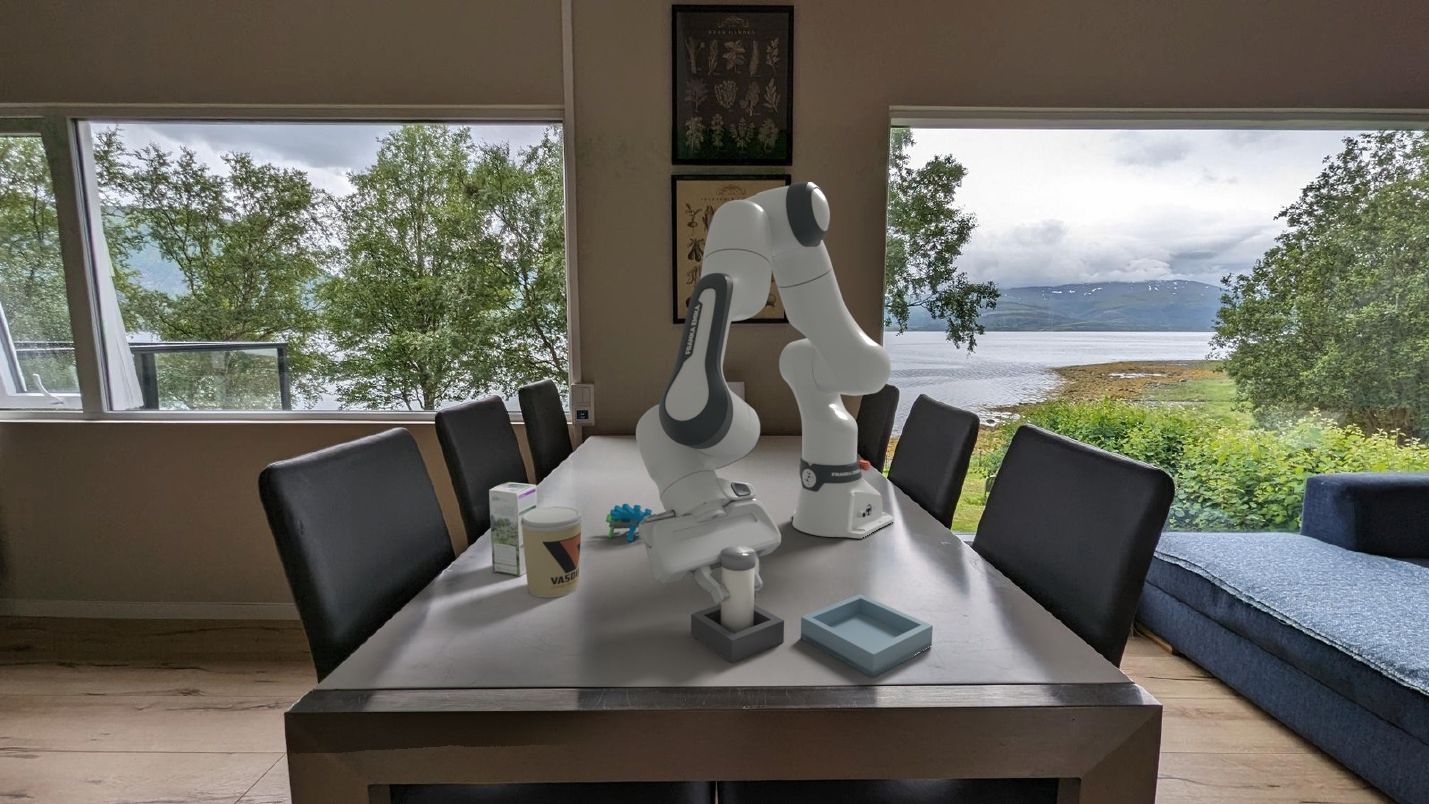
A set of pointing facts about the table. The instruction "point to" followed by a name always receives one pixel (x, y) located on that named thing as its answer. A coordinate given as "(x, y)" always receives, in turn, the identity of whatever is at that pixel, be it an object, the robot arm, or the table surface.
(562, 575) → the cream lidded tub
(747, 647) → the socket
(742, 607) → the cylinder
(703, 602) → the table surface
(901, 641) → the tray
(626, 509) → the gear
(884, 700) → the table surface
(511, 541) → the syrup box
